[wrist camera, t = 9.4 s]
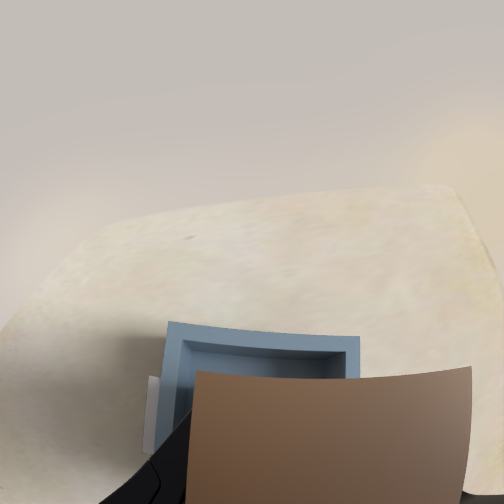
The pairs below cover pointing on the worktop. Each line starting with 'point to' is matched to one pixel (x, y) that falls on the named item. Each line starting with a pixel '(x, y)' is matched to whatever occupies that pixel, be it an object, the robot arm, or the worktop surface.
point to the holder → (236, 366)
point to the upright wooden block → (329, 439)
